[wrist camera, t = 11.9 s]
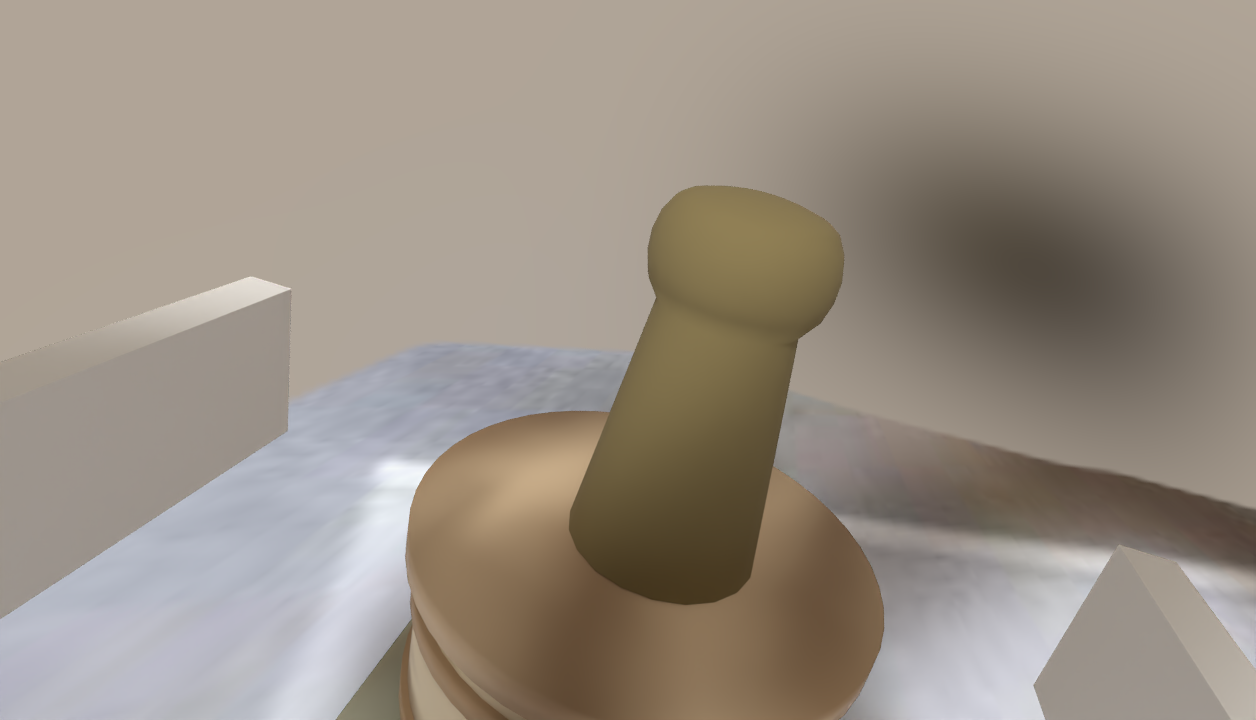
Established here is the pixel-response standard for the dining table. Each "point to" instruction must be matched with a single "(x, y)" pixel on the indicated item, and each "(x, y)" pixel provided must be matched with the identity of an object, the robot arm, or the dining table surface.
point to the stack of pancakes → (609, 604)
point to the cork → (705, 394)
